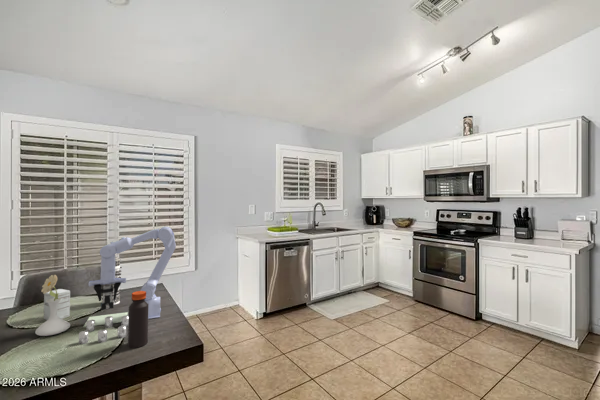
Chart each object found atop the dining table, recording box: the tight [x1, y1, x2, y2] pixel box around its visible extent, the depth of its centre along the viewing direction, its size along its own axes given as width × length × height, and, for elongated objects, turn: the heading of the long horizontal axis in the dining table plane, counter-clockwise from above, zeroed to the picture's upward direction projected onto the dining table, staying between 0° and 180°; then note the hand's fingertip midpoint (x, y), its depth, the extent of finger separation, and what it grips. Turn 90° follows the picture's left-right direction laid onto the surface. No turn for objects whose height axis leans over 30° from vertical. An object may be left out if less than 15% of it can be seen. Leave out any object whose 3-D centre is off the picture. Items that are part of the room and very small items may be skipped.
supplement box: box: [43, 288, 71, 321], centre depth 140 cm, size 7×7×13 cm
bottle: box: [127, 290, 149, 349], centre depth 115 cm, size 7×7×20 cm
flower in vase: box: [35, 274, 71, 337], centre depth 124 cm, size 13×11×25 cm
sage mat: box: [82, 311, 129, 328], centre depth 138 cm, size 16×12×1 cm
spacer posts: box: [78, 314, 129, 345], centre depth 124 cm, size 16×18×4 cm
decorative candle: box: [101, 256, 122, 306], centre depth 161 cm, size 9×9×25 cm
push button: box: [98, 286, 115, 311], centre depth 136 cm, size 7×5×10 cm
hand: (107, 299), depth 137 cm, fingers closed on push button, 5 cm apart
